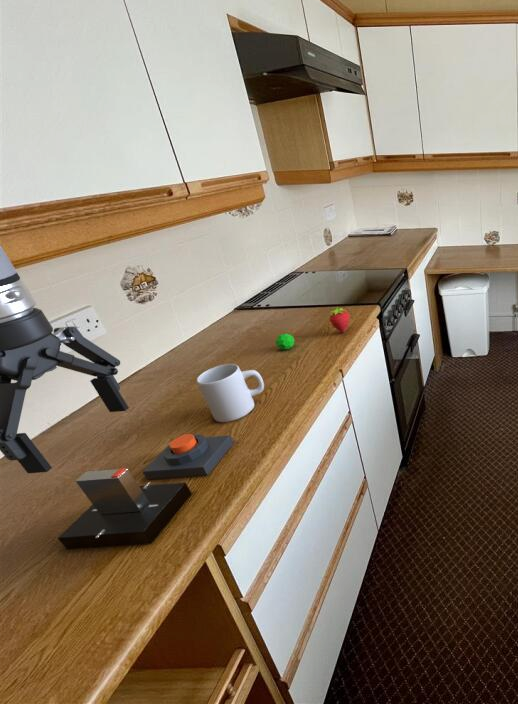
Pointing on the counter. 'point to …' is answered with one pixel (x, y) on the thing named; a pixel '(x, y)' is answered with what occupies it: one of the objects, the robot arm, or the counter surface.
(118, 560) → the counter surface
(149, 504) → the panel
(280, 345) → the polyhedron
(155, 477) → the button box
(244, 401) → the mug
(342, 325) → the strawberry
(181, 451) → the button
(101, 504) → the grey metallic block
